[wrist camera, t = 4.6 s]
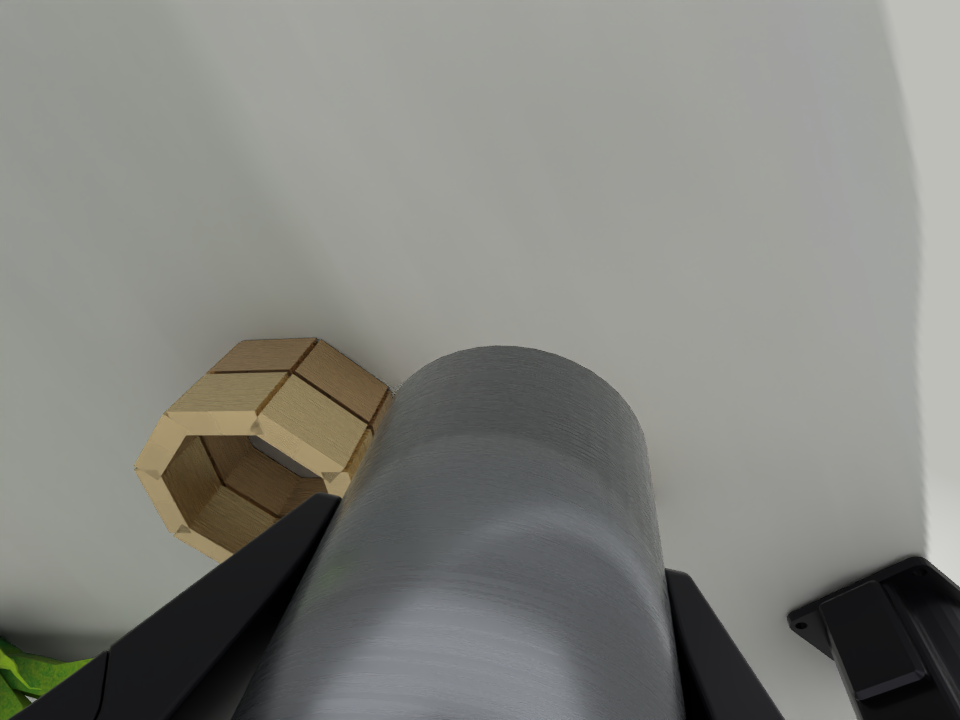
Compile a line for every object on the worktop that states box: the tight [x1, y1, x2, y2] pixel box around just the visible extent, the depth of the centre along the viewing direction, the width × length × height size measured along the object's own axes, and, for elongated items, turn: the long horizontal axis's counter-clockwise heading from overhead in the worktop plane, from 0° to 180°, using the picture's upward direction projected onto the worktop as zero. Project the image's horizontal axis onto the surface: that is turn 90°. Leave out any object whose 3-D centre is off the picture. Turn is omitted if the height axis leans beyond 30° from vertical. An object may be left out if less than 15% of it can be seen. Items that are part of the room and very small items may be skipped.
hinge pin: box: [231, 346, 687, 720], centre depth 8 cm, size 5×5×7 cm
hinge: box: [134, 338, 393, 563], centre depth 24 cm, size 18×16×5 cm
